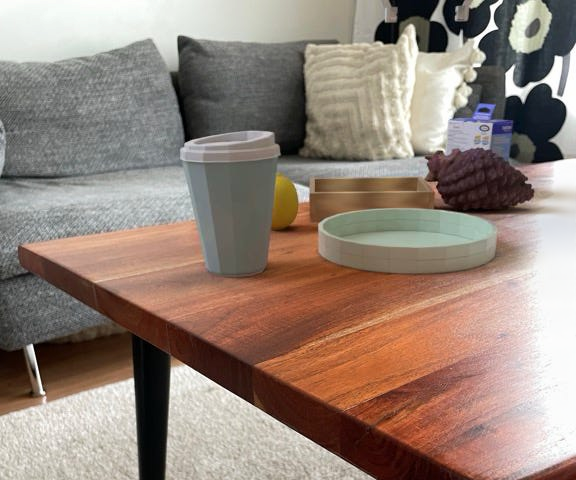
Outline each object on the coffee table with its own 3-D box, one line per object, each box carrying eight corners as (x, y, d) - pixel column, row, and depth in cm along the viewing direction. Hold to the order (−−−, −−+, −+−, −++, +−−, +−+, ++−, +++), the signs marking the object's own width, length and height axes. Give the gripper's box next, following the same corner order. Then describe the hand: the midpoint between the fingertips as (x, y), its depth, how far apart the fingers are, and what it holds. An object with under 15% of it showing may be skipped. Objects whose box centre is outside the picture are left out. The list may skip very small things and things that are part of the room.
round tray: (474, 233, 97) (477, 207, 96) (514, 278, 78) (518, 246, 76) (317, 234, 98) (317, 208, 97) (318, 279, 79) (318, 248, 77)
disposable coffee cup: (216, 293, 75) (207, 142, 68) (172, 270, 83) (160, 133, 77) (301, 276, 80) (299, 133, 74) (251, 256, 88) (246, 126, 82)
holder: (420, 206, 115) (421, 176, 113) (432, 224, 102) (435, 191, 101) (309, 207, 115) (309, 177, 114) (309, 225, 103) (309, 193, 101)
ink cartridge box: (507, 197, 121) (517, 104, 115) (485, 201, 118) (494, 106, 112) (461, 189, 128) (469, 102, 122) (440, 193, 125) (446, 103, 119)
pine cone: (523, 201, 117) (550, 151, 108) (517, 243, 111) (545, 194, 103) (418, 170, 118) (437, 118, 109) (407, 210, 112) (426, 159, 104)
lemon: (307, 232, 99) (306, 172, 96) (278, 239, 96) (276, 177, 93) (279, 226, 103) (278, 168, 100) (250, 233, 100) (248, 173, 96)
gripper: (510, -98, 94) (498, 21, 99) (352, -95, 94) (350, 23, 100) (522, -108, 88) (509, 19, 94) (354, -104, 89) (352, 22, 94)
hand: (426, 21), depth 97 cm, fingers open, 8 cm apart
